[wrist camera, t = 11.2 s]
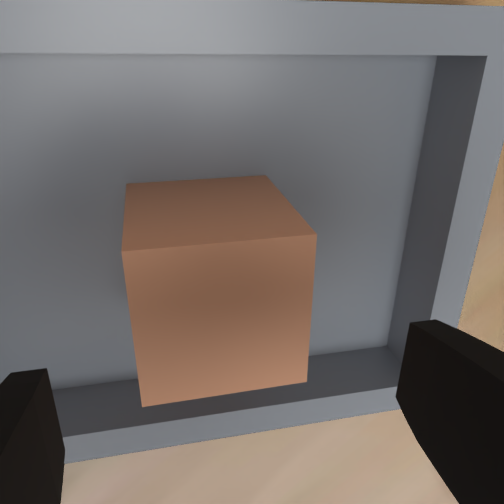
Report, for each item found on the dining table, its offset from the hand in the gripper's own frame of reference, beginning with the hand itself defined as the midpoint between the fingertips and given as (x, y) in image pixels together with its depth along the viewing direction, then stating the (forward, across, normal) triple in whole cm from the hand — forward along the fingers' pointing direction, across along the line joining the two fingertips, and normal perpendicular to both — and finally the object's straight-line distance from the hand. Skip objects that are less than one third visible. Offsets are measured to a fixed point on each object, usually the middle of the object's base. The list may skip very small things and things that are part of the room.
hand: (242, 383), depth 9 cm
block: (+7, 0, 0) cm, 7 cm away
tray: (+8, 0, 0) cm, 8 cm away
